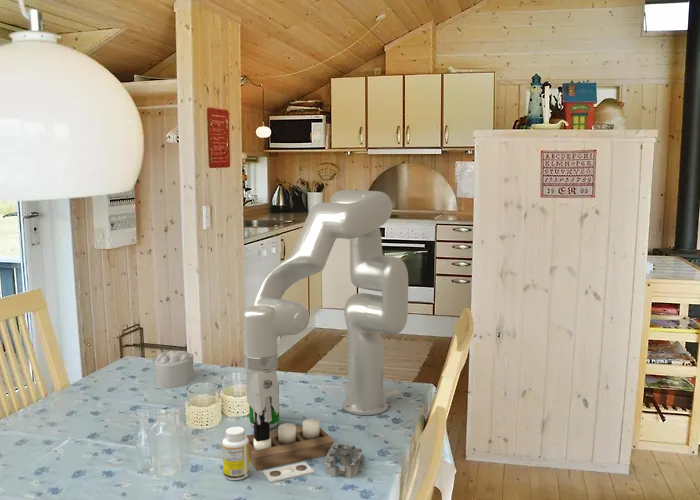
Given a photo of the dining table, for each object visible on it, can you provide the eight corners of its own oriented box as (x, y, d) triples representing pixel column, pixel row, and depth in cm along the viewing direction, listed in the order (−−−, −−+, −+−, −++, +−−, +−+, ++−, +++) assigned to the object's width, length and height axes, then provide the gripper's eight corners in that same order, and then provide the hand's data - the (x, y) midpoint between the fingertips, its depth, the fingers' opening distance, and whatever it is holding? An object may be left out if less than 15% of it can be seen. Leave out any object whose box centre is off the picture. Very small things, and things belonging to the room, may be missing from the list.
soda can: (274, 433, 163) (273, 386, 161) (245, 430, 164) (244, 384, 162) (283, 421, 170) (282, 376, 168) (255, 418, 171) (254, 374, 170)
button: (315, 431, 157) (315, 417, 157) (322, 438, 154) (322, 423, 153) (300, 434, 155) (299, 420, 155) (306, 441, 152) (306, 426, 151)
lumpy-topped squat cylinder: (197, 375, 207) (196, 348, 205) (182, 389, 194) (181, 360, 193) (165, 373, 208) (164, 347, 207) (148, 387, 195) (147, 359, 194)
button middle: (292, 436, 155) (292, 422, 154) (298, 442, 151) (298, 428, 150) (276, 439, 153) (275, 425, 152) (282, 446, 149) (281, 431, 149)
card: (305, 463, 146) (305, 461, 146) (314, 472, 142) (314, 470, 142) (262, 472, 142) (262, 470, 142) (270, 482, 137) (270, 480, 137)
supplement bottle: (238, 466, 145) (236, 422, 143) (254, 474, 141) (253, 429, 140) (217, 476, 140) (216, 430, 139) (234, 484, 137) (233, 437, 135)
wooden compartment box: (314, 434, 162) (314, 422, 161) (335, 453, 151) (335, 441, 151) (240, 449, 153) (240, 436, 153) (256, 470, 143) (255, 457, 142)
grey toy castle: (356, 481, 139) (356, 462, 138) (321, 477, 140) (321, 459, 140) (365, 458, 149) (365, 441, 149) (333, 455, 151) (333, 438, 150)
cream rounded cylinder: (268, 448, 152) (267, 434, 152) (273, 455, 149) (273, 440, 148) (251, 451, 150) (251, 437, 150) (256, 458, 147) (256, 444, 146)
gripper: (288, 368, 141) (289, 448, 144) (265, 350, 155) (267, 424, 157) (254, 373, 138) (256, 455, 141) (235, 354, 152) (236, 430, 154)
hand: (261, 438), depth 149 cm, fingers closed
